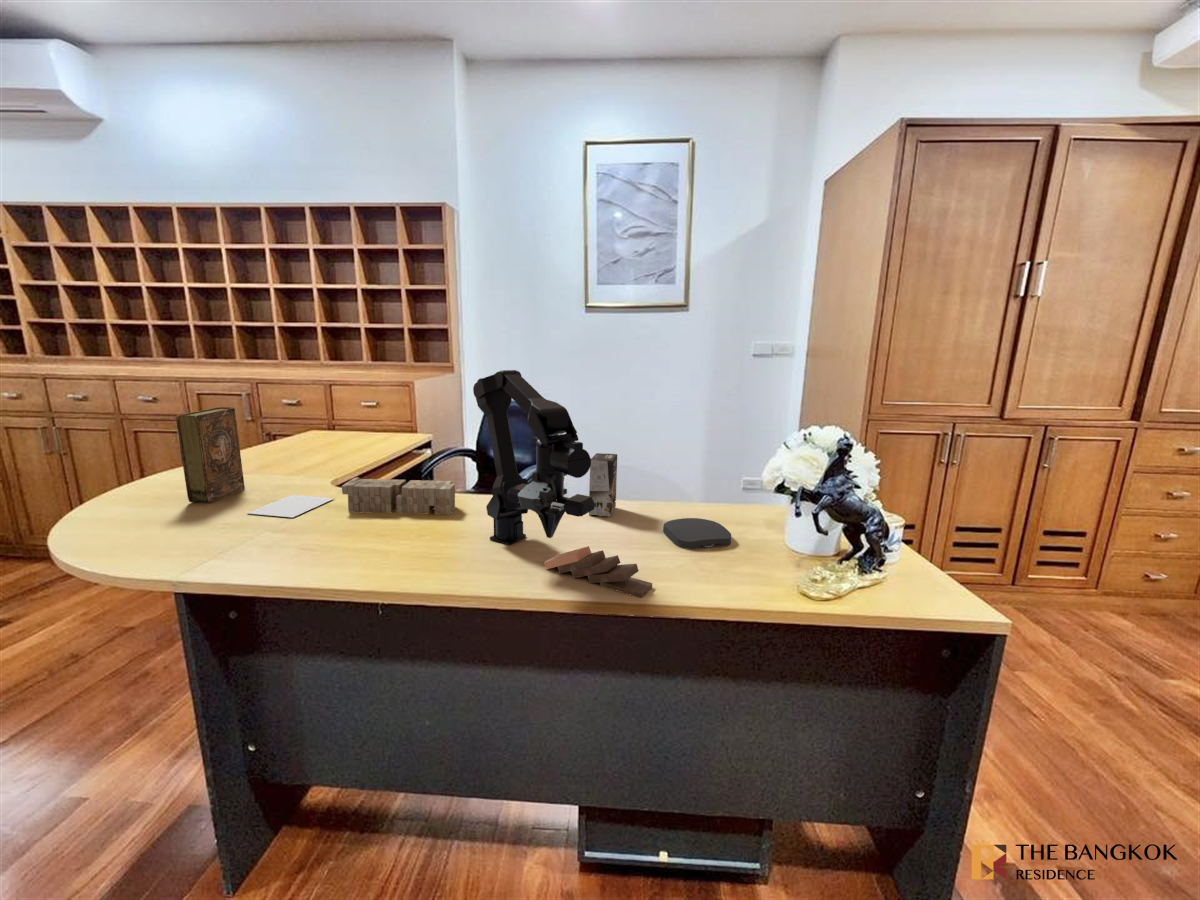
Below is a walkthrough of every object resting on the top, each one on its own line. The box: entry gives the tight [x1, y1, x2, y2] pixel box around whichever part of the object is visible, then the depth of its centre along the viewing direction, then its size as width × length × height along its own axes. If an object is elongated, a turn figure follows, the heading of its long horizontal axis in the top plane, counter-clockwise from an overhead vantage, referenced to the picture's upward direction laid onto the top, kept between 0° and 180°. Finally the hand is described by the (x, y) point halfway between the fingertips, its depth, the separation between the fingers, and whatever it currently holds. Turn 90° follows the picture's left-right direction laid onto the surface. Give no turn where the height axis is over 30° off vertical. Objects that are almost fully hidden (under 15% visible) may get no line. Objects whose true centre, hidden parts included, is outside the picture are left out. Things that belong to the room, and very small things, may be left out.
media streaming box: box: [662, 517, 732, 550], centre depth 131 cm, size 15×15×3 cm
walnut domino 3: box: [587, 563, 639, 584], centre depth 105 cm, size 2×5×9 cm
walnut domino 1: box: [557, 549, 607, 574], centre depth 109 cm, size 2×5×9 cm
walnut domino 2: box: [570, 554, 621, 579], centre depth 107 cm, size 2×5×9 cm
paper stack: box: [247, 494, 336, 518], centre depth 141 cm, size 23×25×1 cm
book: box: [175, 406, 246, 504], centre depth 151 cm, size 16×6×25 cm, turn 179°
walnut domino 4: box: [600, 576, 653, 599], centre depth 105 cm, size 2×5×9 cm
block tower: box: [341, 477, 456, 515], centre depth 146 cm, size 8×8×29 cm
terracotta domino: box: [543, 546, 592, 570], centre depth 111 cm, size 2×5×9 cm
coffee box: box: [588, 452, 618, 517], centre depth 147 cm, size 9×6×16 cm
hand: (549, 537), depth 112 cm, fingers closed
